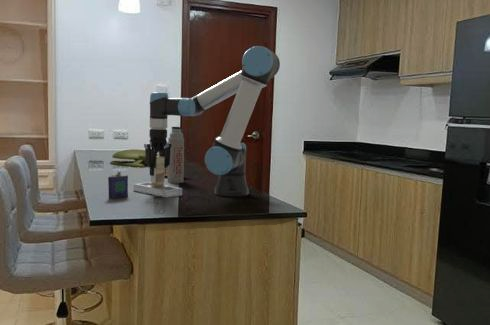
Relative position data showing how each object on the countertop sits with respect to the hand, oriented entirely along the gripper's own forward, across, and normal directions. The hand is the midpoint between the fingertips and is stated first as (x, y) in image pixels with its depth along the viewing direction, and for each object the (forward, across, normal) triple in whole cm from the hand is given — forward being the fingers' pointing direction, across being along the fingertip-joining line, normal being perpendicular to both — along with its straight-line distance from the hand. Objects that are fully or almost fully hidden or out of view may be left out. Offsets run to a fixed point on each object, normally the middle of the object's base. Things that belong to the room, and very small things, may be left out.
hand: (157, 182), depth 202 cm
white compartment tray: (+5, 0, 0) cm, 5 cm away
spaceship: (+5, -61, -95) cm, 113 cm away
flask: (+5, +19, -1) cm, 20 cm away
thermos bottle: (+5, -28, -20) cm, 35 cm away
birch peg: (+3, 0, 0) cm, 3 cm away
